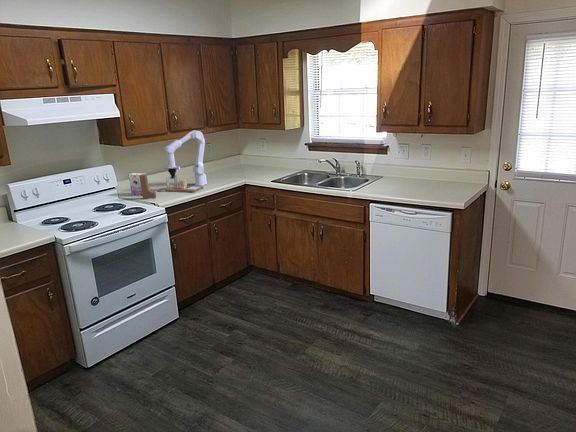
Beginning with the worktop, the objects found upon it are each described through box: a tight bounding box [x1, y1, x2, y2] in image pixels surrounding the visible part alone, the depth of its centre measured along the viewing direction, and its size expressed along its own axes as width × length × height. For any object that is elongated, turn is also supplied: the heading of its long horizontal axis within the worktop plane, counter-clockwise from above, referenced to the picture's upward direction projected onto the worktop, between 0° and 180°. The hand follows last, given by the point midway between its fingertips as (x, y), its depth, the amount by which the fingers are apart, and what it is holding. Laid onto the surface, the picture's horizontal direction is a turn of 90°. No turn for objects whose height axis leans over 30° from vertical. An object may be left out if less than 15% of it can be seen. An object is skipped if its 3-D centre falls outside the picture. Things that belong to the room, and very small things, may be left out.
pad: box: [186, 187, 200, 190], centre depth 354 cm, size 8×8×1 cm
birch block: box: [178, 178, 188, 189], centre depth 357 cm, size 4×4×8 cm
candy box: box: [128, 172, 144, 196], centre depth 350 cm, size 14×6×16 cm, turn 59°
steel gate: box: [165, 174, 179, 189], centre depth 360 cm, size 12×2×9 cm, turn 158°
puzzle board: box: [164, 185, 204, 194], centre depth 358 cm, size 14×27×2 cm, turn 68°
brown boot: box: [139, 173, 157, 200], centre depth 336 cm, size 9×4×18 cm, turn 95°
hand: (173, 178), depth 358 cm, fingers closed
